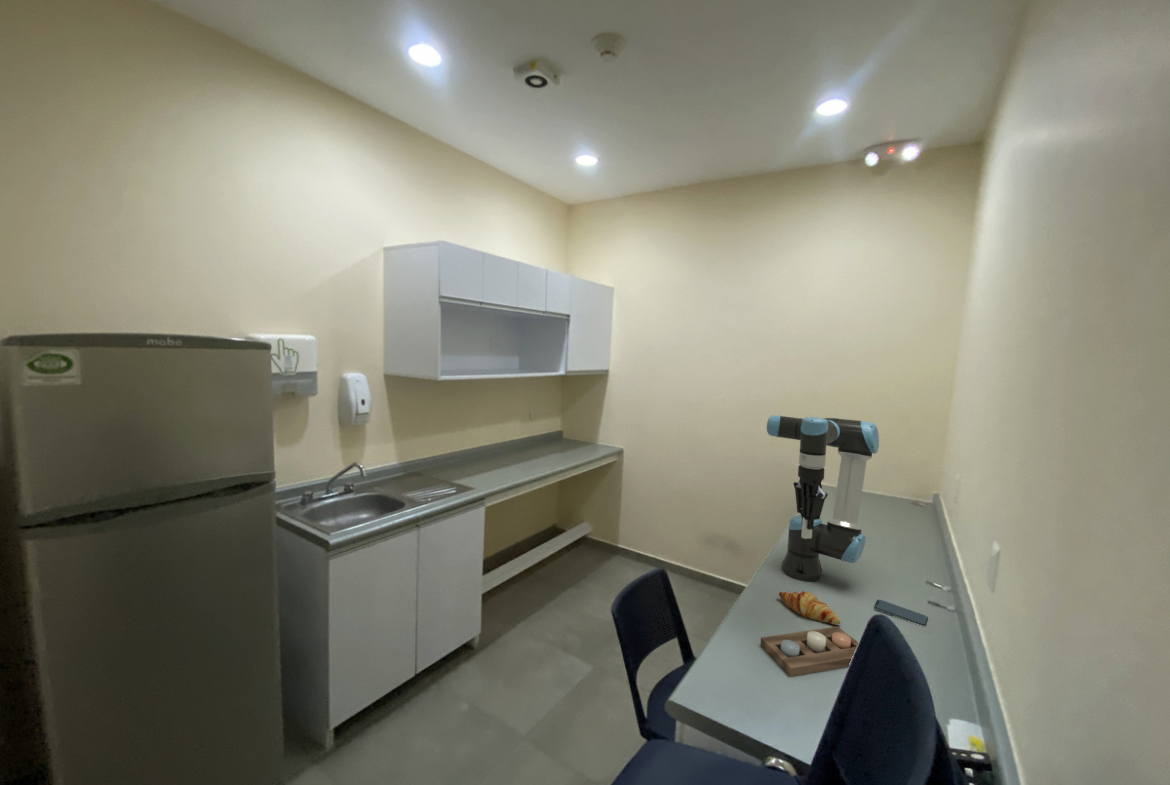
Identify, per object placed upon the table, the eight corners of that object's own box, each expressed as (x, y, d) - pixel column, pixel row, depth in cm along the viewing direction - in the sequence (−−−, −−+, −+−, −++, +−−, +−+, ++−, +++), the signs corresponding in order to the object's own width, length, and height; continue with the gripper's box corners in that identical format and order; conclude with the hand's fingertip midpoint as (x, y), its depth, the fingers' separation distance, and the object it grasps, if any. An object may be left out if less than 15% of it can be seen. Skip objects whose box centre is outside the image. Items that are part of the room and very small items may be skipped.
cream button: (803, 643, 142) (803, 632, 142) (817, 641, 143) (817, 630, 143) (814, 653, 137) (815, 642, 137) (829, 651, 138) (829, 640, 138)
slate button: (776, 652, 140) (777, 641, 140) (791, 649, 141) (792, 638, 141) (787, 663, 135) (788, 651, 135) (802, 660, 136) (803, 649, 136)
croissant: (842, 633, 156) (848, 610, 158) (832, 630, 150) (839, 606, 152) (781, 604, 172) (787, 583, 174) (770, 601, 166) (777, 579, 168)
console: (760, 645, 144) (760, 637, 144) (837, 633, 150) (837, 626, 150) (790, 676, 130) (791, 668, 130) (873, 662, 137) (873, 654, 137)
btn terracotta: (827, 644, 144) (828, 633, 144) (841, 641, 145) (842, 631, 145) (840, 654, 139) (840, 643, 139) (854, 652, 141) (854, 641, 140)
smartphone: (925, 625, 155) (873, 606, 164) (925, 630, 155) (873, 610, 165) (928, 616, 160) (878, 598, 170) (927, 620, 160) (877, 602, 170)
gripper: (787, 461, 154) (783, 530, 156) (816, 472, 141) (810, 547, 144) (807, 460, 156) (802, 528, 158) (836, 471, 143) (831, 545, 146)
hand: (806, 537), depth 151 cm, fingers closed
